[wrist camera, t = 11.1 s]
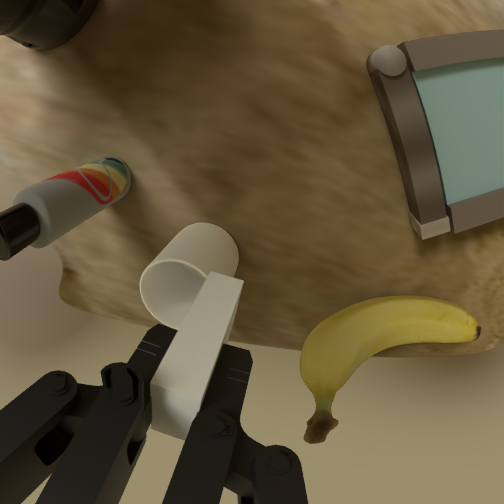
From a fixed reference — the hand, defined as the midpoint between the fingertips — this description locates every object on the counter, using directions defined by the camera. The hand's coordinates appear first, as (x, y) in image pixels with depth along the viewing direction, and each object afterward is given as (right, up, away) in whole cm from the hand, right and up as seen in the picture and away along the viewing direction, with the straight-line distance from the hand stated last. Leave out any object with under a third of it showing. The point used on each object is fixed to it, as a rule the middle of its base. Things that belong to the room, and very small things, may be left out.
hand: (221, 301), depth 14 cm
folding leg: (+17, +14, +15) cm, 27 cm away
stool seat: (+27, +17, +12) cm, 34 cm away
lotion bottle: (-16, +12, +23) cm, 30 cm away
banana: (+19, -5, +24) cm, 31 cm away
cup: (-4, +1, +26) cm, 26 cm away
